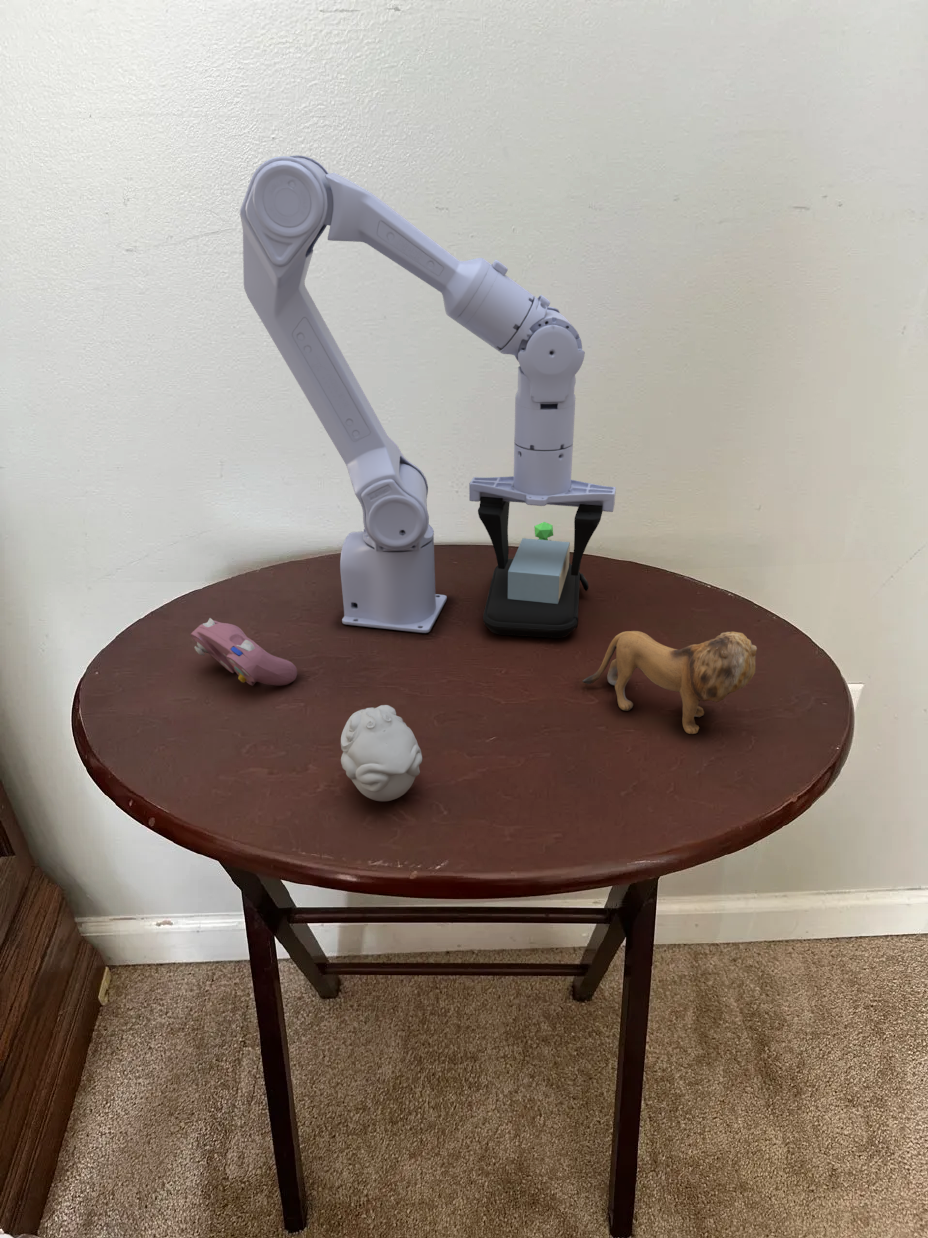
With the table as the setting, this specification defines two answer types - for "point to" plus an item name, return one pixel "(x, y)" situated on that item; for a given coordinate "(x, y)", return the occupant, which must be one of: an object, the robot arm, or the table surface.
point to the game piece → (543, 531)
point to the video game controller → (242, 654)
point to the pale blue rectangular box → (538, 571)
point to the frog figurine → (380, 753)
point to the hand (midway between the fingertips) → (538, 568)
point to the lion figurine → (681, 669)
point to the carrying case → (532, 609)
